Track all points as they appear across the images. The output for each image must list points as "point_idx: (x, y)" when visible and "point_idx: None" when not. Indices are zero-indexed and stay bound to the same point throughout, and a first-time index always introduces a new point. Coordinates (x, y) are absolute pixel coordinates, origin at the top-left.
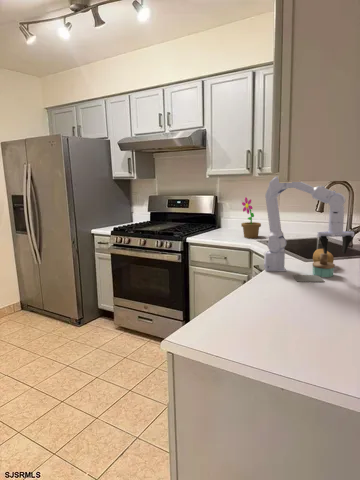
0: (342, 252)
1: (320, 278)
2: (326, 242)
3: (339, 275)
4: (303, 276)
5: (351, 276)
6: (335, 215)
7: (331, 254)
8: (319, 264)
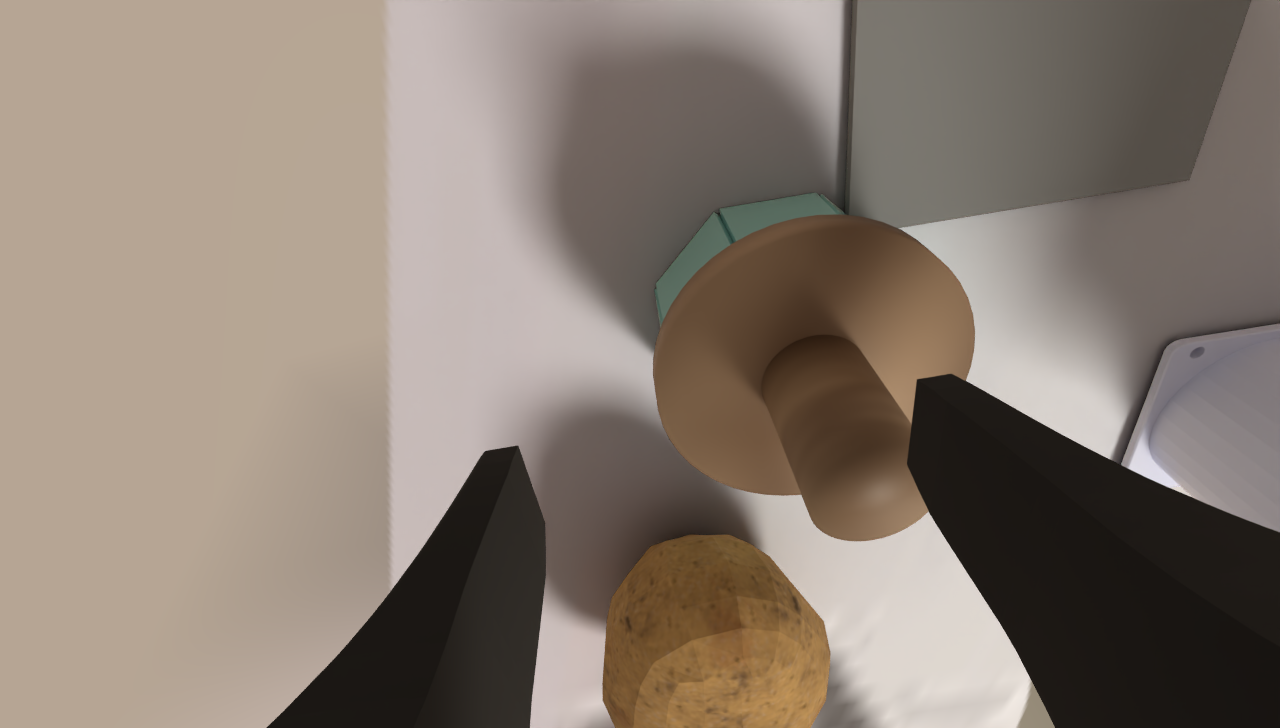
0: (542, 517)
1: (874, 65)
2: (1250, 582)
3: (577, 308)
4: (1079, 126)
5: (436, 295)
6: None
7: (636, 696)
8: (888, 336)
